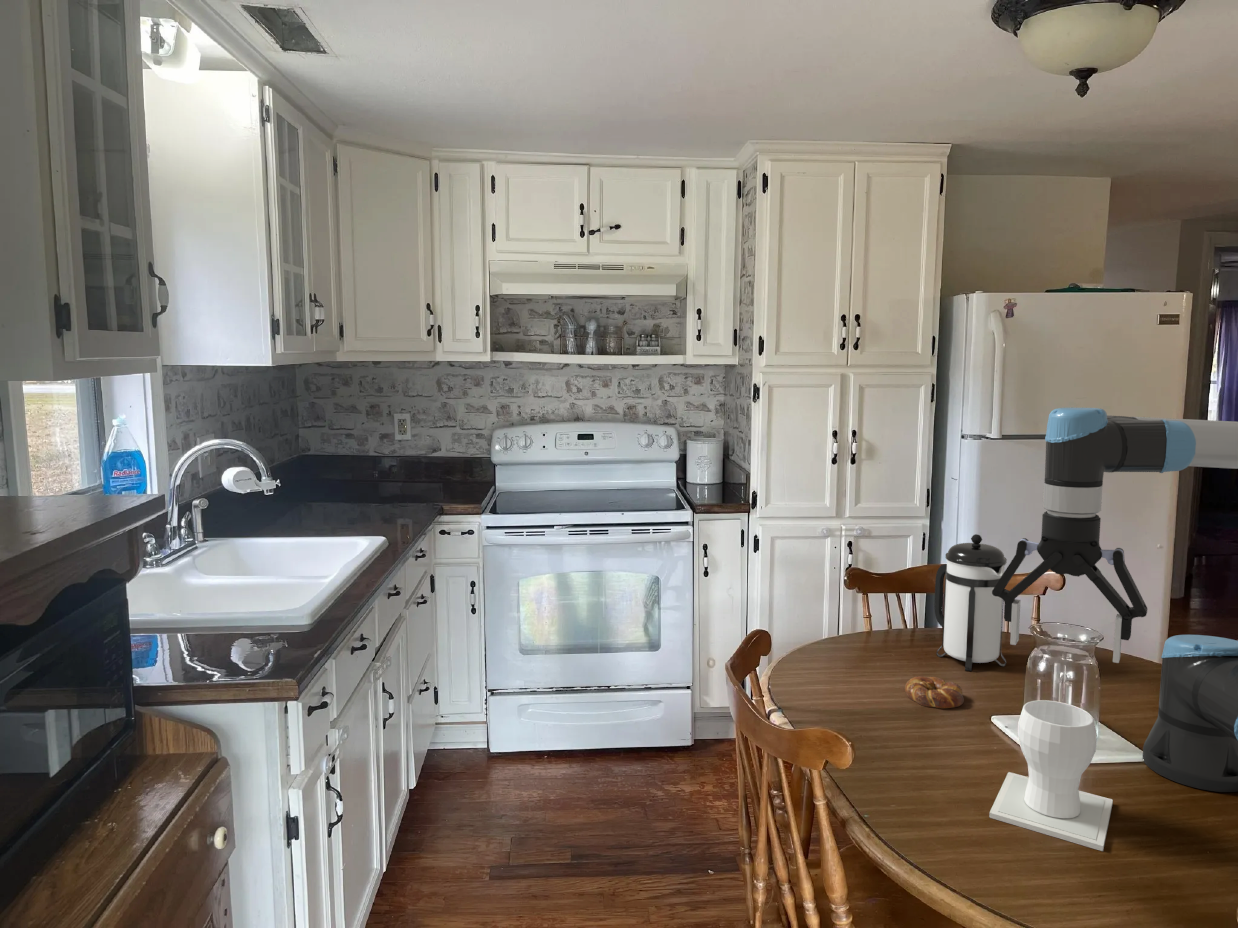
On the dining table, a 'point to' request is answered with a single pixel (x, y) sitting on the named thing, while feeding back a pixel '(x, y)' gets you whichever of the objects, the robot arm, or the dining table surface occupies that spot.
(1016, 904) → the dining table surface
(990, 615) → the coffee press
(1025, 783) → the coaster
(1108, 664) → the dining table surface
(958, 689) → the brown braided bread ring
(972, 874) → the dining table surface
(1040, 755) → the cup
